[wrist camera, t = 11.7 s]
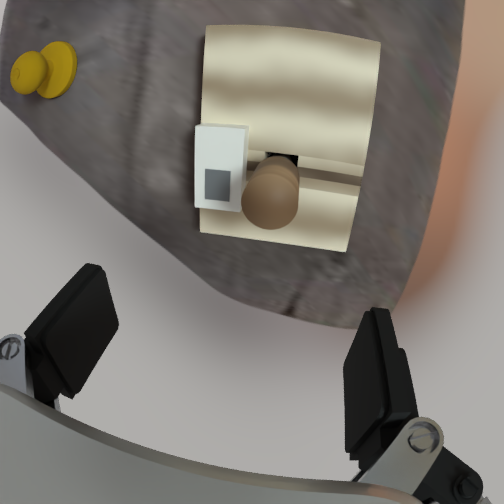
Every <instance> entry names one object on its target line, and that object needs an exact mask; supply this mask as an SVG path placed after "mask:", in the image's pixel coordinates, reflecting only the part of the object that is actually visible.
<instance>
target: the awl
mask: <svg viewBox="0 0 504 504" xmlns="http://www.w3.org/2000/svg"><path fill="white" fill-rule="evenodd" d="M299 184H300V175H299V172H298V169H297V167H296V166H295V165H294V164H293V163H292V159H291V157H290V155H289V154H283V153H275V154H274V155H273V156H272V157H269V158H266V159H264V160H263V161H261V162H260V163H259V164H258V166H257V167H256V169H255V171H254V173H253V175H252V176H251V178H250V180H249V182H248V184H247V186H246V187H245V189H244V191H243V193H242V197H241V207H242V211H243V213H244V215H245V216H246V218H247V219H248V220H249V221H250V222H251V223H252V224H254V225H255V226H257V227H259V228H262V229H267V230H275V229H280V228H282V227H285V226H286V225H288V224H289V223H290V222H291V221H292V220H293V219H294V218H295V216H296V214H297V211H298V201H299Z"/></svg>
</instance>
